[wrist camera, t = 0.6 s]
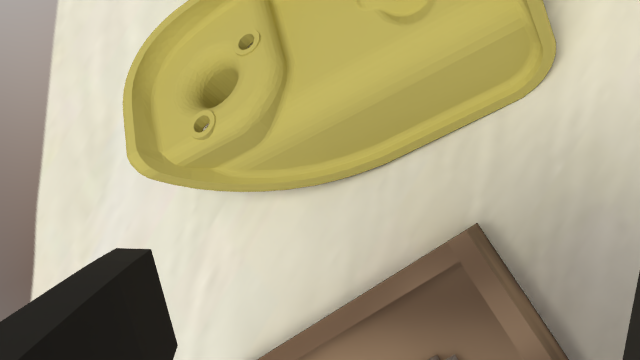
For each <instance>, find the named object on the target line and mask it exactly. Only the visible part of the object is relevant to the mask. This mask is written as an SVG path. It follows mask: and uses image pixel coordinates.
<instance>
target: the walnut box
mask: <svg viewBox="0 0 640 360" xmlns="http://www.w3.org/2000/svg"><path fill="white" fill-rule="evenodd" d="M257 360H569V359H568V358H567V356H566V355H565V353H564V352H563V350H562V349H561V347H560V346H559V344H558V343H557V341H556V340H555V338H554V337H553V335H552V334H551V332H550V331H549V329H548V328H547V326H546V325H545V323H544V322H543V320H542V319H541V317H540V316H539V314H538V313H537V311H536V310H535V309H534V307H533V306H532V304H531V303H530V301H529V300H528V298H527V297H526V295H525V294H524V292H523V291H522V289H521V288H520V286H519V285H518V283H517V282H516V280H515V279H514V277H513V276H512V274H511V273H510V271H509V270H508V268H507V267H506V265H505V264H504V262H503V261H502V259H501V258H500V256H499V255H498V253H497V252H496V250H495V249H494V247H493V246H492V244H491V243H490V241H489V240H488V238H487V237H486V235H485V234H484V232H483V231H482V229H481V228H480V226H479V225H478V223H476V224H475V225H473V226H472V227H470V228H468V229H467V230H465V231H463V232H462V233H460V234H459V235H457V236H455V237H454V238H452V239H451V240H449V241H447V242H446V243H444V244H443V245H441V246H439V247H438V248H436V249H435V250H433V251H431V252H430V253H428V254H426V255H425V256H423V257H422V258H420V259H418V260H417V261H415V262H414V263H412V264H410V265H409V266H407V267H406V268H404V269H402V270H401V271H399V272H397V273H396V274H394V275H393V276H391V277H389V278H388V279H386V280H385V281H383V282H381V283H380V284H378V285H377V286H375V287H373V288H372V289H370V290H368V291H367V292H365V293H364V294H362V295H360V296H359V297H357V298H356V299H354V300H352V301H351V302H349V303H348V304H346V305H344V306H343V307H341V308H340V309H338V310H336V311H335V312H333V313H331V314H330V315H328V316H327V317H325V318H323V319H322V320H320V321H319V322H317V323H315V324H314V325H312V326H311V327H309V328H307V329H306V330H304V331H302V332H301V333H299V334H298V335H296V336H294V337H293V338H291V339H290V340H288V341H286V342H285V343H283V344H282V345H280V346H278V347H277V348H275V349H273V350H272V351H270V352H269V353H267V354H265V355H264V356H262V357H261V358H259V359H257Z"/></svg>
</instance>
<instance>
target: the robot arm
mask: <svg viewBox="0 0 640 360" xmlns="http://www.w3.org/2000/svg"><path fill="white" fill-rule="evenodd" d="M177 346H178V345H177V341H176V338H175V334H174V330H173V327H172V323H171V320H170V316H169V312H168V309H167V305H166V302H165V298H164V294H163V291H162V287H161V283H160V280H159V276H158V273H157V269H156V265H155V262H154V258H153V255H152V251H151V249H122V248H116V249H114V250H112V251H111V252H109V253H107V254H105V255H103V256H102V257H100V258H98V259H97V260H95V261H93V262H92V263H90V264H88V265H87V266H85V267H84V268H82V269H81V270H79V271H77V272H76V273H74V274H73V275H71V276H70V277H68V278H67V279H65V280H64V281H62V282H61V283H59V284H57V285H56V286H54V287H53V288H51V289H50V290H48V291H47V292H45V293H44V294H42V295H41V296H39V297H38V298H36V299H35V300H33V301H32V302H30V303H28V304H27V305H25V306H24V307H23V308H21V309H19V310H18V311H16V312H15V313H13V314H12V315H10V316H9V317H7V318H6V319H4V320H3V321H1V322H0V360H173V358H174V355H175V352H176V349H177ZM623 360H640V272H639V277H638V283H637V288H636V293H635V298H634V303H633V308H632V314H631V319H630V324H629V329H628V334H627V340H626V345H625V350H624V355H623Z"/></svg>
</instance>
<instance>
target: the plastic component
mask: <svg viewBox="0 0 640 360" xmlns="http://www.w3.org/2000/svg"><path fill="white" fill-rule="evenodd" d="M251 43H253V44H252V45H251V46H250V47H249V48H247V47H248V46H249V45H250V44H251ZM555 54H556V41H555V38H554V35H553V32H552V29H551V25H550V22H549V19H548V16H547V13H546V10H545V6H544V3H543V0H188V1H187V2H186V3H184V4H183V5H182V6H180V7H179V8H178V9H176V10H175V11H174V12H173V13H171V14H170V15H169V16H168V17H167V18H166V19H165V20H164V21H163V22H162V23H161V24H160V25H159V26H158V27H157V28H156V29H155V30H154V31H153V32H152V33H151V35H150V36H149V37H148V38H147V39H146V41H145V42H144V44H143V45H142V47H141V48H140V50H139V51H138V53H137V55H136V57H135V59H134V61H133V63H132V65H131V67H130V70H129V73H128V75H127V78H126V82H125V87H124V94H123V116H124V127H125V138H126V150H127V157H128V160H129V162H130V164H131V165H132V166H133V167H134V168H135V169H136V170H137V171H138V172H139V173H140V174H142V175H144V176H146V177H147V178H150V179H153V180H157V181H160V182H164V183H169V184H173V185H178V186H184V187H189V188H195V189H204V190H214V191H233V192H256V191H275V190H287V189H294V188H301V187H307V186H314V185H319V184H323V183H327V182H331V181H335V180H339V179H343V178H346V177H349V176H353V175H356V174H359V173H362V172H365V171H367V170H370V169H373V168H376V167H378V166H381V165H384V164H386V163H388V162H390V161H392V160H394V159H396V158H398V157H401V156H403V155H405V154H407V153H409V152H411V151H413V150H415V149H417V148H419V147H421V146H423V145H425V144H428V143H430V142H432V141H434V140H436V139H438V138H440V137H442V136H444V135H446V134H448V133H450V132H452V131H455V130H457V129H459V128H461V127H463V126H465V125H467V124H469V123H471V122H473V121H475V120H477V119H479V118H481V117H484V116H486V115H488V114H490V113H492V112H494V111H496V110H498V109H500V108H502V107H504V106H506V105H508V104H511V103H513V102H515V101H517V100H519V99H521V98H523V97H524V96H525V95H527V94H528V93H529V92H530V91H532V90H533V89H534V88H535V87H536V86H537V85H538V84H539V83H540V82H541V81H542V80H543V79H544V78H545V76H546V74H547V73H548V71H549V69H550V68H551V66H552V63H553V60H554V57H555ZM208 123H209V125H208V127H207V128H206V129H205V130H204V131H203V128H204V127H205V126H206V124H208ZM202 131H203V132H202Z"/></svg>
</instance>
